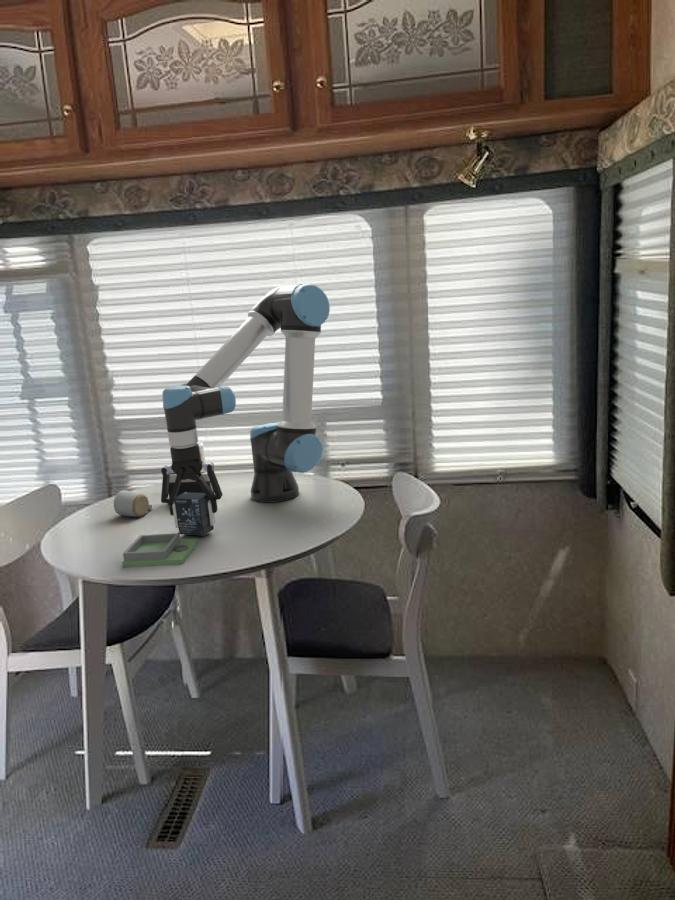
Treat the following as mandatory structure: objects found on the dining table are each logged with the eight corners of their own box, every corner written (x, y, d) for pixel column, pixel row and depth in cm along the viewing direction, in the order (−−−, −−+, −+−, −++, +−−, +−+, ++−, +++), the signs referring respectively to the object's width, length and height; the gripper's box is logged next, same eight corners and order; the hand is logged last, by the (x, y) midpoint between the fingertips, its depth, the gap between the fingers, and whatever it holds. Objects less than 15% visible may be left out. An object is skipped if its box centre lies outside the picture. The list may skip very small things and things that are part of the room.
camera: (219, 495, 224) (216, 465, 222) (211, 503, 216) (207, 472, 214) (179, 496, 227) (175, 467, 224) (169, 504, 219) (164, 474, 217)
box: (178, 535, 188) (173, 498, 185) (190, 527, 193) (185, 491, 190) (203, 536, 185) (198, 499, 182) (214, 528, 190) (209, 492, 187)
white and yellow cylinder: (193, 482, 242) (188, 440, 238) (210, 481, 241) (205, 440, 237) (187, 487, 236) (182, 444, 232) (204, 487, 235) (199, 444, 231)
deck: (197, 542, 183) (195, 531, 182) (182, 564, 169) (180, 551, 169) (141, 545, 184) (140, 534, 183) (122, 566, 171) (121, 554, 170)
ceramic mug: (135, 520, 205) (132, 495, 203) (114, 518, 209) (111, 494, 207) (159, 510, 214) (156, 486, 213) (138, 507, 218) (135, 484, 216)
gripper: (227, 438, 186) (237, 517, 191) (148, 444, 188) (161, 522, 193) (221, 445, 179) (232, 527, 184) (139, 451, 180) (152, 532, 186)
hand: (195, 524), depth 189 cm, fingers closed on box, 9 cm apart
